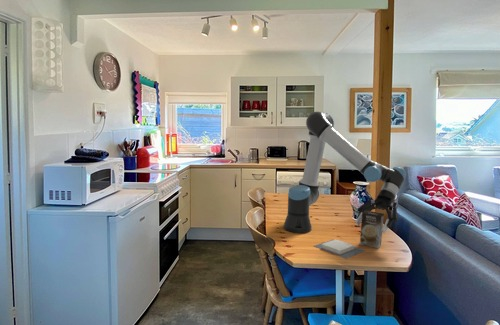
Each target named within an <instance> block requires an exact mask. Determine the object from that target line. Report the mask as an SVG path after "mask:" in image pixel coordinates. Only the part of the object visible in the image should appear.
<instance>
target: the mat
mask: <svg viewBox="0 0 500 325" xmlns="http://www.w3.org/2000/svg"><path fill="white" fill-rule="evenodd" d="M332 240H335V239H330V240H328V241H324V242H321V243H319V244H315V245H313V246H312V247H314V248H317V249H319V250H322V251H324V252H327V253H330V254H332V255H335V256H338V257H340V258H343V259H345V260H346V259H349V258H351V257H354V256H357V255H359V254H361V253H364V252H366V249H363V248H360V247H357V246H354V250H352V251H349V252H346V253H344V254H341V255H339V254H336V253H333V252H330V251H328V250H325V249H322V244H323V243H326V242H329V241H332Z"/></svg>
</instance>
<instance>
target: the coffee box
mask: <svg viewBox="0 0 500 325" xmlns="http://www.w3.org/2000/svg"><path fill="white" fill-rule="evenodd" d="M384 216H385V214H384V213H382V212H378V211H373V210H371V211H367V210H365V211H364V212H363V213H362V221H361V223H360V237H359V245H362V246H365V247H371V248H375V249H379V248H380V247H381V245H382V238H383V232H382V228H383V226H384V219H385V218H384Z"/></svg>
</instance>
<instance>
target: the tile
mask: <svg viewBox="0 0 500 325" xmlns="http://www.w3.org/2000/svg"><path fill="white" fill-rule="evenodd" d="M331 240H332V241H330V240H328V241H329V242H327V241H325V242H326V243H324V242H322V243H323V244H322V249H325V250H328V251H330V252H333V253H336V254H339V255H341V254H344V253H346V252H349V251H352V250H354V247H355V245H354V244H351V243H348V242H346V241H342V240H339V239H336V238H335V239H334V240H333V239H331Z"/></svg>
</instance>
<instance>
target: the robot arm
mask: <svg viewBox="0 0 500 325" xmlns="http://www.w3.org/2000/svg"><path fill="white" fill-rule="evenodd" d="M334 125H335V121H334V119H333V117H332V116H331V115H330V114H329V113H327V112H324V111H323V112H322V111H314V112H312V113H310V114H309V115H308V116H307V118H306V121H305V126H306V128H307V129H308V137H310V138H309V139H310V140H309V143H308V144H309V145H308V148H307V154H306V159H305V165H304V170H303V175H302V178H301V179H299V181H298V184H297V185H292V186H290V187H289V188H288V193H287V215H286V218H285V220H284V223H283V229H284V230H285V231H287V232H291V233H295V234H296V233H297V234H303V233H304V234H305V233H310V232H311V231H312V223H311V219H310V218H311V217H310V206H311V205H313V204H315V203H316V202H317V201H318V200H319V197H320V190H319V188H320V184H319V182H318V180H319V174H320V170H321V165H322V161H323V156H324V155H323V154H324V151H325V146H326V144H327V145H329V147H331V148H332V149H333V150H334V151H335V152H337V153H338V154H339V155H340V156H341V157H342V158H344V159H345V160H346V161H347V162H348V163H349V164H350V165H352V166H353V167H354V168H355V169H356V170H357V171H359V172H360V173H361V174H362V175H363V176H364V178H365V180H366V181H368V182H370V183H373V182H378V181H381V182H384V183H383V185H382V187H381V189H380V191H379V192H378V194H377V197H376V198H375V199H374V198H373V197H369V198H368V200H367V201H366V202H364V203H363V204H362V205H361V206H359V207H358V208H357V209H356V210H357V212H358V215H357V216H356V217H357V219H356V221H355V224H356V226H357V227H359V226H361V222H362V213H363V212H364V211H365V210H367V211H374V210H382V211H385V212H386V214H387V217H388V218H386V220H385V223H383V228H382V234H386V232H387V230H388V228H391V226H392V224H393V223H394V222H395V223H398V221H399V219H398V210H397V209H398V207H399V205H398V203H397V202H396V201H395V198H396V197H397V194H398V193H399V191H400V189H401V186H402V185H403V183H404V181H405V179H406V176H407V171H406V170H405V168H402V167H400V166H399V167H398V166H393V167H392V168H390V167H387V166H385V165H383V164H381V163H378V162H377V161H373V160H370V159H369V157H368V156H366V155H365V154H364V153H363V152H361V151H360V150H359V149H358V148H357V147H356V146H354V145H353V144H352V143H351V142H349V141H348V140H347V139H346V138H345V136H343V135H341V134H340V133H339V132H338V131H336V129H334ZM394 201H395V202H394ZM391 207H392V213H391V212H390V210H389V208H391ZM392 214H393V215H392ZM392 216H393V217H392Z"/></svg>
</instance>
